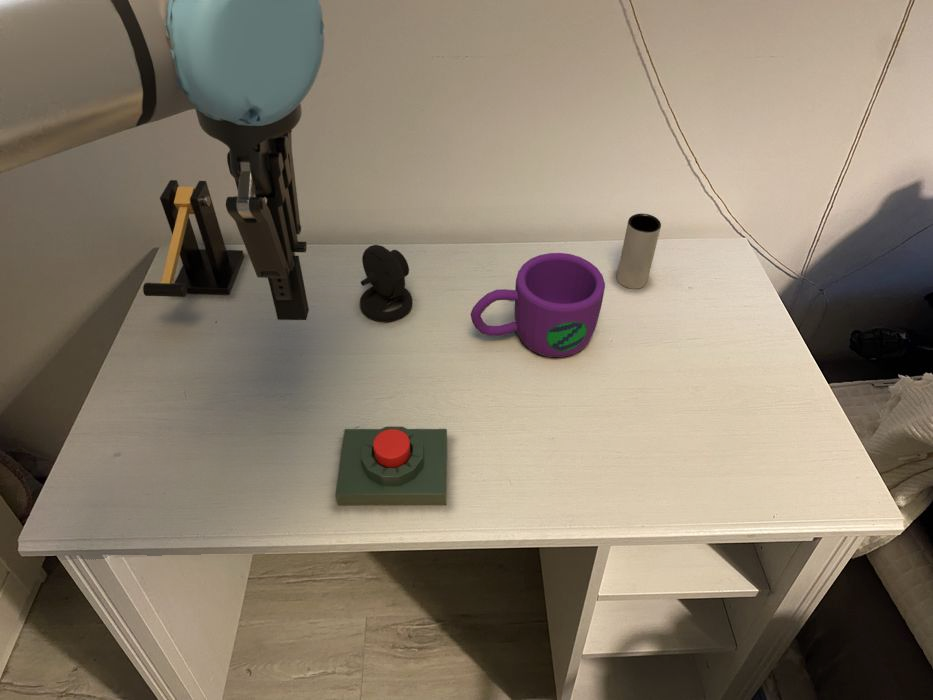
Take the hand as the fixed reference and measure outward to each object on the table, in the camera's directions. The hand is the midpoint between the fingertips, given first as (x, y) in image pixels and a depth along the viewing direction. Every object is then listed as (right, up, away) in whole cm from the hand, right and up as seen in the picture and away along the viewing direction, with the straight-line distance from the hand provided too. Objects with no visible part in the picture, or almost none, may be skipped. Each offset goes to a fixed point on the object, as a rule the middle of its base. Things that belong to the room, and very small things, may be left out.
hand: (293, 314), depth 68 cm
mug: (+25, -2, +30) cm, 39 cm away
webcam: (+5, +3, +34) cm, 35 cm away
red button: (+8, -15, +12) cm, 21 cm away
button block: (+8, -17, +14) cm, 24 cm away
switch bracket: (-22, +8, +39) cm, 45 cm away
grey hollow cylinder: (+41, +7, +39) cm, 57 cm away
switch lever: (-22, +10, +28) cm, 37 cm away
